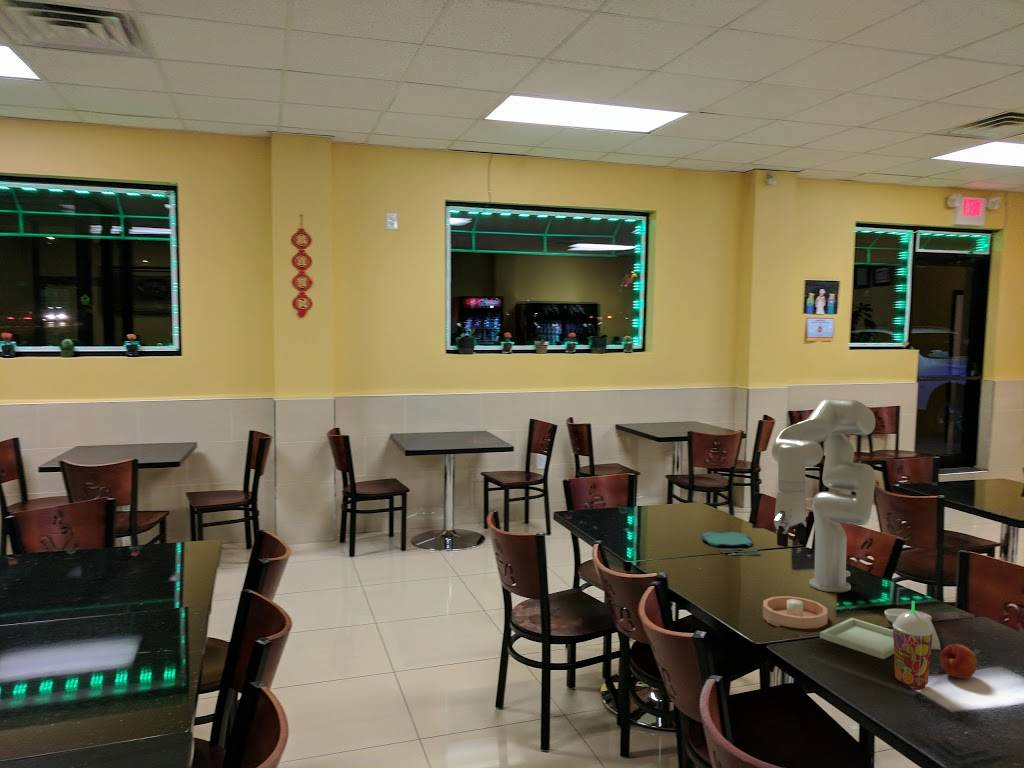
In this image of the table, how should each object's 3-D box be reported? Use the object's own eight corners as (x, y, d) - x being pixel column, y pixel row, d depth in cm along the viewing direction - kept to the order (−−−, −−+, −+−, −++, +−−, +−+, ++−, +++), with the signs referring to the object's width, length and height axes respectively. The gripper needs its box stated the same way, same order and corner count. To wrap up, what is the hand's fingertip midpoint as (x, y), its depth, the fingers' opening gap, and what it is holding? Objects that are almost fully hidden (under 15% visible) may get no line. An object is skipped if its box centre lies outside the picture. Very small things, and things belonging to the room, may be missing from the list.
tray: (851, 626, 204) (851, 617, 204) (914, 645, 190) (914, 636, 190) (819, 641, 194) (819, 632, 193) (883, 663, 180) (883, 653, 180)
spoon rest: (878, 618, 210) (878, 594, 210) (921, 620, 208) (922, 596, 208) (908, 652, 187) (908, 625, 187) (957, 655, 185) (957, 628, 185)
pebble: (792, 612, 212) (792, 598, 211) (805, 617, 208) (806, 602, 208) (783, 616, 209) (783, 601, 209) (797, 620, 206) (797, 605, 205)
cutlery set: (744, 536, 302) (744, 530, 302) (766, 557, 273) (766, 551, 272) (697, 536, 303) (697, 530, 303) (713, 558, 274) (713, 552, 273)
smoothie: (883, 677, 172) (885, 595, 171) (916, 675, 173) (918, 594, 172) (905, 693, 164) (907, 608, 163) (940, 692, 165) (942, 607, 164)
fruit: (931, 670, 176) (931, 638, 176) (962, 668, 177) (963, 637, 176) (952, 685, 168) (953, 651, 168) (985, 683, 169) (986, 650, 168)
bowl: (784, 605, 221) (784, 592, 221) (838, 622, 207) (839, 608, 207) (751, 618, 210) (751, 604, 210) (806, 637, 196) (806, 622, 196)
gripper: (795, 479, 218) (795, 534, 220) (763, 488, 208) (763, 546, 209) (819, 483, 213) (818, 539, 214) (787, 492, 202) (787, 551, 203)
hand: (791, 542), depth 211 cm, fingers open, 9 cm apart
